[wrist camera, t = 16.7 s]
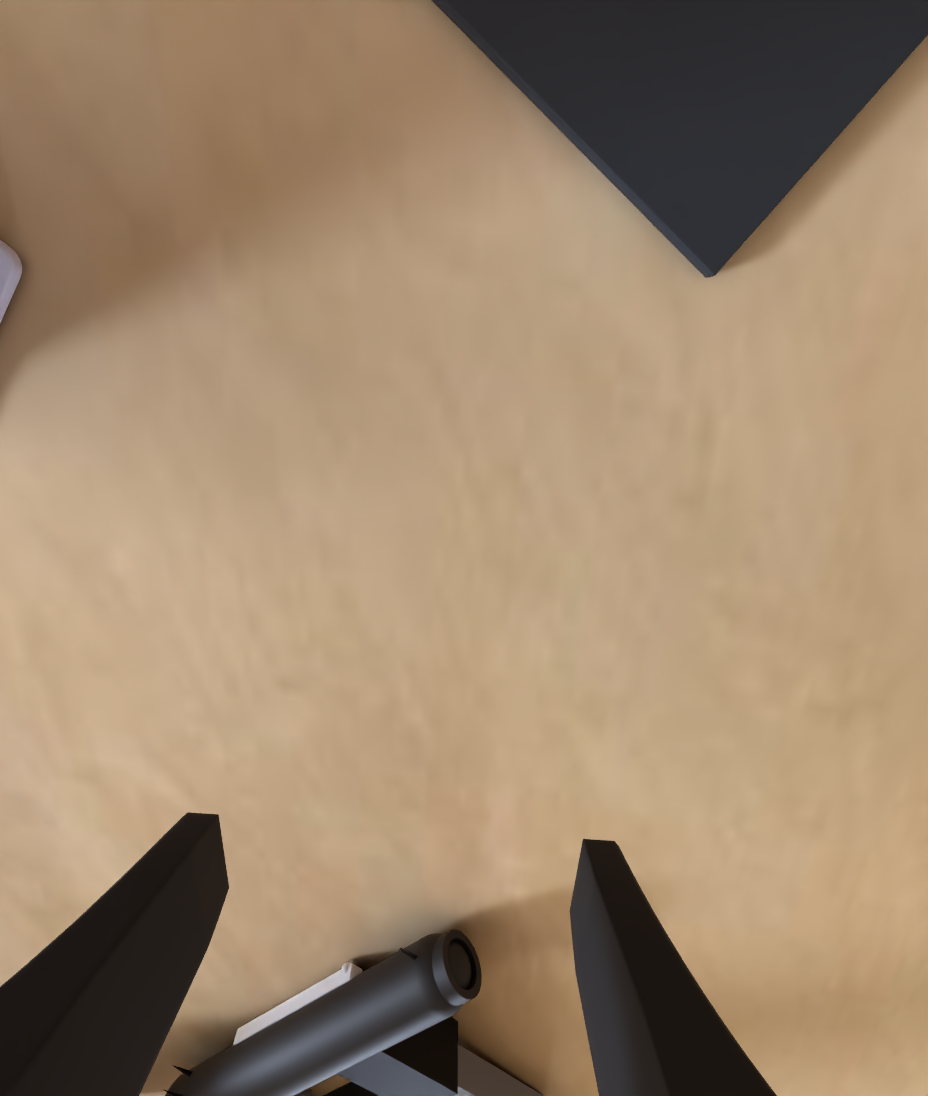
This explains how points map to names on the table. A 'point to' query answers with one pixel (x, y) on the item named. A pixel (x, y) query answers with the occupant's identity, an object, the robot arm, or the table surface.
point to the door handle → (364, 1034)
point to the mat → (698, 94)
